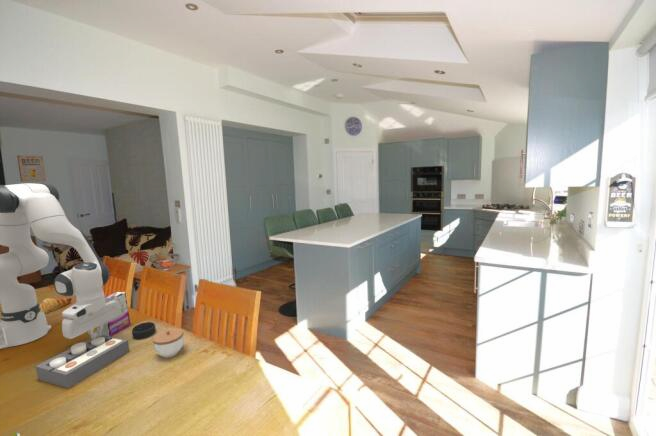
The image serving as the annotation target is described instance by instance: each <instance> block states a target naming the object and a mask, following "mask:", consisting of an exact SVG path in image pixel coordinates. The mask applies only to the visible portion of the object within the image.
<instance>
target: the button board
mask: <svg viewBox="0 0 656 436" xmlns="http://www.w3.org/2000/svg"><path fill="white" fill-rule="evenodd" d="M99 337H104V338H105V342H104V343H103V344H101V345H99V346H97V347H96V345H91V341H92V340H94V339H92V338H91V337H90V339H87V340H85V341H83V342H84V343H86V349H87V352H86V353H84V354H82V355H80V356H78V357H77V356H75V355H72V353H71V348H69V349H68V350H65V351H64V352H61V353H59V354H57V355H55V356H53V357H51V358H50V359H47V360H45V361H43V362H40V363H39V364H38V365H36V366H35V371H36V376H37V379H38V380H39V381H41V382H46V383H50V384H52V385H57V386H59V387H63V388H66V389H70V388H72V387H73V386H75V385H77V384H78V383H80V382H81V381H84V380H86V378H88V377H90V376H91V375H94V374H95V373H96V372H98V371H100V370H102V369H104V367H106V366H108V365H110V364H112V363H113V362H115V361H116V360H118V359H120V358H121V357H123V356H124V355H126V354H128V353H130V345H129V340H128V339H124V338H119V337H115V336H111V337H110V336H105V335H101V336H99ZM99 337H97V338H99ZM95 339H96V338H95ZM60 357H65V358H66V362H67V363H65V364H63V365H61V366H59V367H57V368H56V369H55V368H54V367H51V366H50V364H49V363H50V362H51V361H52V360H54V359H56V358H60Z"/></svg>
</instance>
